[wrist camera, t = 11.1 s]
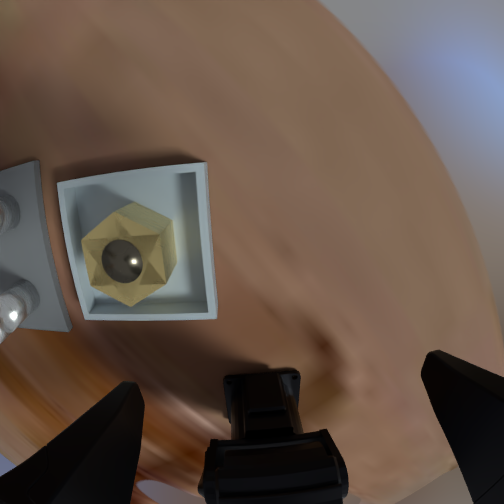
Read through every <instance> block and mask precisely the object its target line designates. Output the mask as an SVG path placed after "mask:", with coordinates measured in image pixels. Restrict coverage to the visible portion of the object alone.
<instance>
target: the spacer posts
mask: <svg viewBox="0 0 504 504" xmlns="http://www.w3.org/2000/svg"><path fill="white" fill-rule="evenodd" d="M19 221H20V207H19V204H18V202H17V200H16V199H15V198H14V197H13V196H11V195H6V196H2V197H0V235H1V234H4V233H6V232H8V231H10V230H12V229H15V228H16V227H17V226H18V224H19ZM39 304H40V296H39V293H38V291H37V289H36V287H35V286H34V285H33V284H32V283H31V282H30V281H28V280H25V279H22V280H20V281H19V282H17V283H16V284H15V285H13V286H12V287H11V288H9V289H8V290H7V291H5V292H4V293H3V294H1V295H0V344H1V343H2V342H3V341H4V340H5V339H6V338H7V337H8V336H9V335H10V334H11V333H12V332H13V331H14V330H15V329H16V328H17V327H18V326H19V325H20V324H21V323H22V322H23V321H24V320H25V319H26V318H27V317H28V316H29V315H30V314H31V313H32V312H33V311H35V310H36V309H37V308H38V307H39Z"/></svg>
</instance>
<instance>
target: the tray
mask: <svg viewBox="0 0 504 504" xmlns="http://www.w3.org/2000/svg"><path fill="white" fill-rule="evenodd" d="M57 188H58V197H59V204H60V212H61V218H62V225H63V231H64V236H65V242H66V247H67V252H68V257H69V261H70V266H71V270H72V274H73V278H74V282H75V286H76V290H77V294H78V298H79V301H80V305H81V308H82V311H83V315H84V318H85V320H127V321H150V320H198V319H217V310H218V300H217V289H216V279H215V268H214V256H213V244H212V231H211V218H210V204H209V188H208V171H207V162H202V163H190V164H179V165H169V166H160V167H151V168H143V169H135V170H128V171H121V172H114V173H107V174H101V175H95V176H89V177H84V178H78V179H73V180H68V181H63V182H58V183H57ZM133 202H137V203H139V204H141V205H143V206H145V207H147V208H149V209H151V210H153V211H155V212H157V213H159V214H161V215H163V216H165V217H167V218H169V219H171V220H173V228H174V237H175V246H176V255H177V264H176V266H175V268H174V270H173V272H172V274H171V276H170V278H169V280H168V282H167V284H166V285H164V286H163V287H161V288H159V289H158V290H156V291H155V292H153V293H152V294H150V295H149V296H147V297H146V298H144V299H143V300H141V301H139V302H138V303H136V304H135V305H133V306H132V307H130V306H128V305H126V304H124V303H122V302H120V301H118V300H116V299H114V298H112V297H110V296H108V295H106V294H104V293H103V292H101V291H99V290H97V289H95V288H93V287H91V286H90V282H89V278H88V273H87V269H86V264H85V259H84V254H83V249H82V243H81V240H82V239H83V238H84V237H85V236H86V235H87V234H88V233H90V232H91V231H92V230H93V229H94V228H95V227H96V226H98V225H99V224H100V223H101V222H102V221H103V220H105V219H106V218H107V217H108V216H109V215H111V214H112V213H113V212H114V211H116V210H118V209H120V208H122V207H124V206H126V205H128V204H131V203H133Z"/></svg>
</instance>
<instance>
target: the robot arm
mask: <svg viewBox="0 0 504 504" xmlns="http://www.w3.org/2000/svg"><path fill="white" fill-rule="evenodd" d="M294 375H296V376H295V377H293V376H294ZM421 378H422V381H423V383H424V386H425V389H426V391H427V394H428V396H429V399H430V402H431V405H432V407H433V410H434V412H435V415H436V417H437V419H438V421H439V423H440V425H441V427H442V429H443V432H444V434H445V436H446V438H447V440H448V442H449V445H450V447H451V449H452V451H453V454H454V456H455V458H456V460H457V463H458V465H459V468H460V470H461V472H462V474H463V477H464V480H465V482H466V484H467V487H468V490H469V492H470V495H471V498H472V501H473V502H474V504H504V377H502V376H499V375H497V374H495V373H492V372H490V371H487V370H485V369H483V368H480V367H478V366H476V365H473V364H471V363H469V362H466V361H464V360H462V359H459V358H457V357H455V356H452V355H450V354H448V353H446V352H443V351H441V350H435V351H431V352H429V353H428V354H427V355H426V358H425V361H424V364H423V367H422V370H421ZM300 379H301V376H300V373H299V371H297V370H292V371H283V372H272V373H260V374H245V375H228V376H225V377H224V379H223V384H224V391H225V398H226V405H227V411H228V418H229V423H230V424H231V440H218V439H211V440H210V447H208V448H207V451H206V452H205V464H204V470H203V473H202V476H201V479H200V481H199V484H198V493H199V494H200V495H202V496H203V497H204V498H205V501H206V503H207V504H343V498H345V497H346V496H347V494H348V487H349V482H348V473H347V468H346V465H345V462H344V460H343V457H342V456H341V454H340V452H339V450H338V448H337V447H336V445H335V443H334V441H333V439H332V438H331V436H330V434H329V432H328V430H327V429H322V430H319V431H316V432H310V433H304V432H303V428H302V424H301V420H300V416H299V412H298V402H299V391H300ZM228 381H230V382H228ZM144 409H145V404H144V400H143V397H142V394H141V392H140V389H139V386H138V384H137V383H136V382H131V381H123V382H121V383H120V384H119V385H118V386H117V387H115V388H114V389H113V390H112V391H111V392H109V393H108V394H107V395H106V396H105V397H103V398H102V399H101V400H100V401H99V402H97V403H96V404H95V405H94V406H93V407H91V408H90V409H89V410H88V411H87V412H85V413H84V414H83V415H82V416H81V417H79V418H78V419H77V420H76V421H75V422H73V423H72V424H71V425H70V426H68V427H67V428H66V429H65V430H64V431H62V432H61V433H60V434H59V435H57V436H56V437H55V438H54V439H53V440H51V441H50V442H49V443H48V444H47V446H44V447H43V448H41V449H40V450H39V451H38V452H36V453H35V454H34V455H32V456H31V457H30V458H28V459H27V460H26V461H24V462H23V463H21V464H20V465H18V466H17V467H15V468H14V469H12V470H10V471H9V472H7V473H5V474H4V475H2V476H0V504H130V501H131V496H132V490H133V485H134V480H135V475H136V469H137V465H138V460H139V455H140V449H141V439H142V428H143V419H144Z"/></svg>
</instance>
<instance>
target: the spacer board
mask: <svg viewBox="0 0 504 504" xmlns="http://www.w3.org/2000/svg"><path fill="white" fill-rule="evenodd" d="M6 195H11V196H13V197H14V198H15V199H16V200H17V202H18V204H19V207H20V221H19V224H18V226H17V227H16V228H15V229H12V230H10V231H8V232H6V233H4V234H1V235H0V295H1V294H3V293H4V292H5V291H7V290H8V289H9V288H11V287H12V286H13V285H15V284H16V283H17V282H19V281H20V280H22V279H25V280H28V281H30V282H31V283H32V284H33V285H34V286H35V287H36V289H37V291H38V293H39V296H40V304H39V307H38V308H37V309H36V310H35V311H33V312H32V313H31V314H30V315H29V316H28V317H27V318H26V319H25V320H24V321H23V322H22V323H21V324H20V325H19V326H18V327H19V328H28V329H38V330H49V331H61V332H69V331H70V330H71V329H72V324H71V321H70V318H69V315H68V311H67V308H66V305H65V302H64V298H63V295H62V291H61V288H60V284H59V280H58V276H57V272H56V268H55V264H54V259H53V255H52V250H51V245H50V240H49V235H48V229H47V224H46V217H45V211H44V204H43V196H42V187H41V176H40V164H39V160H37V161H31V162H28V163H24V164H21V165H18V166H15V167H12V168H8V169H5V170H2V171H0V197H2V196H6Z"/></svg>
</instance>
